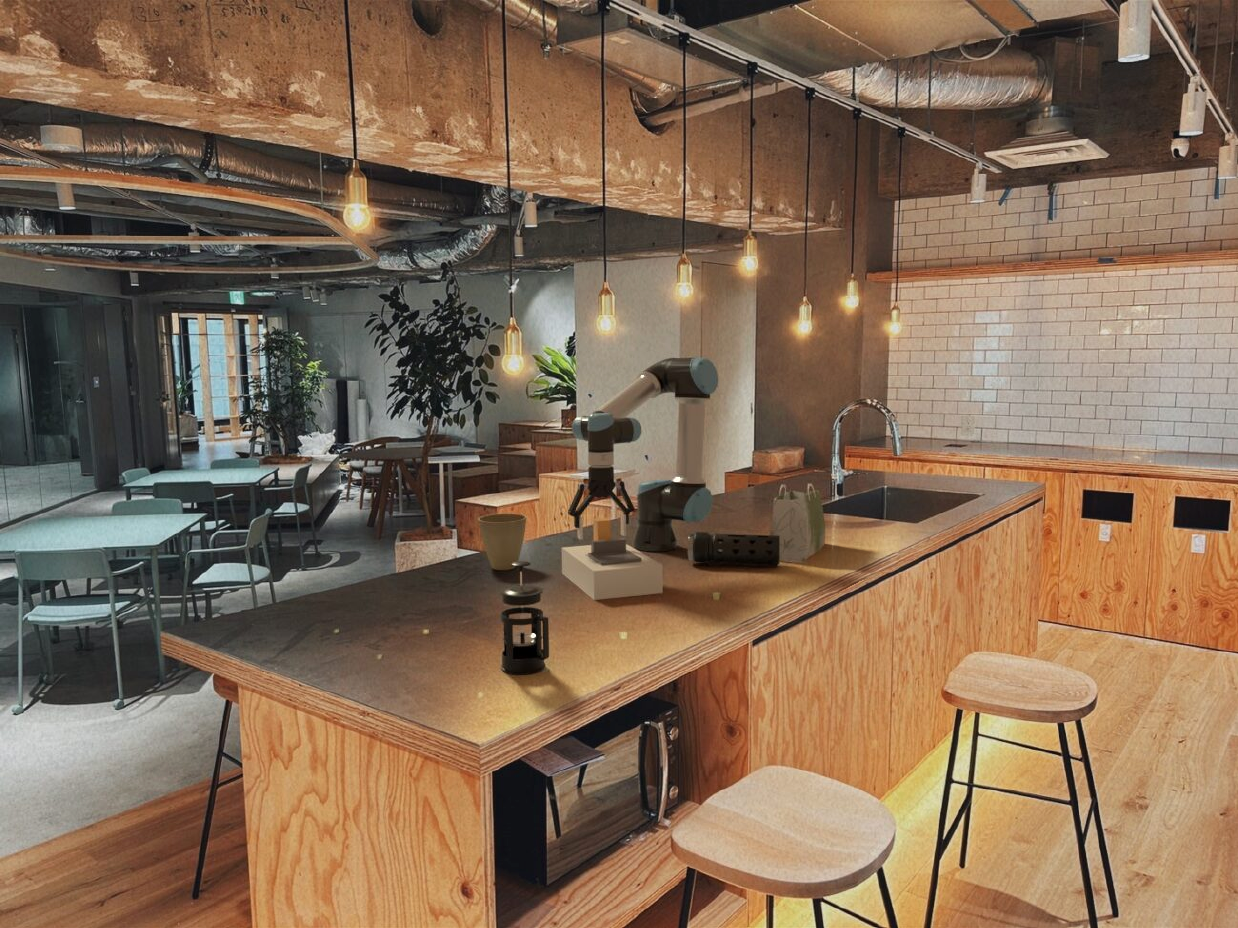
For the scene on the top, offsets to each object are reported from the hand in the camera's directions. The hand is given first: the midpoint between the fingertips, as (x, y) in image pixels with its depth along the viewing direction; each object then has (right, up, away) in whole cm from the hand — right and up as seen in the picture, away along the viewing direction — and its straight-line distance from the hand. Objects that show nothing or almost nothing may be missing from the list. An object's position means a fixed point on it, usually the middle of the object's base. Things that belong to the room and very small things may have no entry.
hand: (601, 537), depth 268 cm
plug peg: (0, -11, +1) cm, 11 cm away
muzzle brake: (+41, -10, +15) cm, 45 cm away
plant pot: (-31, -11, +15) cm, 36 cm away
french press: (-15, -22, -75) cm, 80 cm away
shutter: (+4, -5, -10) cm, 12 cm away
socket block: (+2, -13, -5) cm, 14 cm away
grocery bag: (+64, -8, +33) cm, 73 cm away
